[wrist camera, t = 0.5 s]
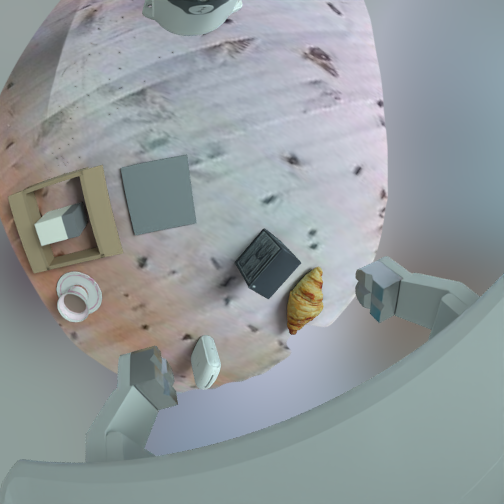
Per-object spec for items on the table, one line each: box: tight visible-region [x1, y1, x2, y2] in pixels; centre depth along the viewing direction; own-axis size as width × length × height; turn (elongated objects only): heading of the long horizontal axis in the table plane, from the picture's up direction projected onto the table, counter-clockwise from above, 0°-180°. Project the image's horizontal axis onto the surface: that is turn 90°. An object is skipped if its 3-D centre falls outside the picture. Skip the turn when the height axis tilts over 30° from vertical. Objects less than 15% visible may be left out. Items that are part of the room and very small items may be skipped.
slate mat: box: [121, 155, 196, 235], centre depth 50 cm, size 14×13×1 cm
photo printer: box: [191, 335, 221, 389], centre depth 66 cm, size 10×4×12 cm, turn 153°
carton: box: [8, 165, 123, 273], centre depth 44 cm, size 18×23×4 cm
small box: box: [235, 229, 301, 299], centre depth 59 cm, size 11×6×10 cm, turn 138°
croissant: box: [287, 267, 323, 335], centre depth 70 cm, size 21×10×8 cm
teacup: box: [57, 271, 102, 322], centre depth 51 cm, size 12×12×6 cm
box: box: [34, 202, 88, 246], centre depth 43 cm, size 4×9×7 cm, turn 94°
